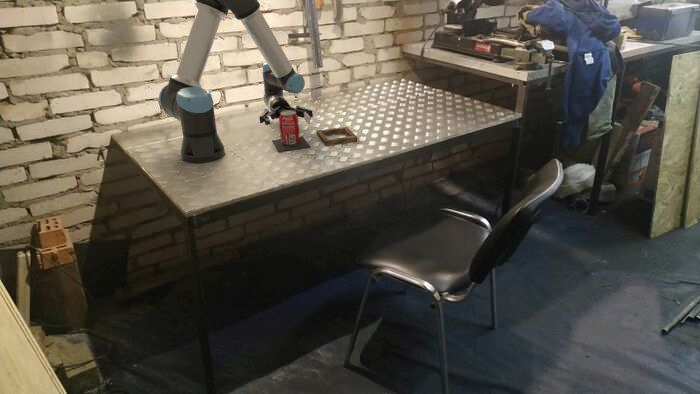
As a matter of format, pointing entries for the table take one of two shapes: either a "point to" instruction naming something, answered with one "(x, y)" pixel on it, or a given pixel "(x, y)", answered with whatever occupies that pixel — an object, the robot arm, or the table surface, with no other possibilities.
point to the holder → (336, 141)
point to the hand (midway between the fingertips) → (291, 122)
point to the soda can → (289, 127)
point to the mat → (300, 145)
